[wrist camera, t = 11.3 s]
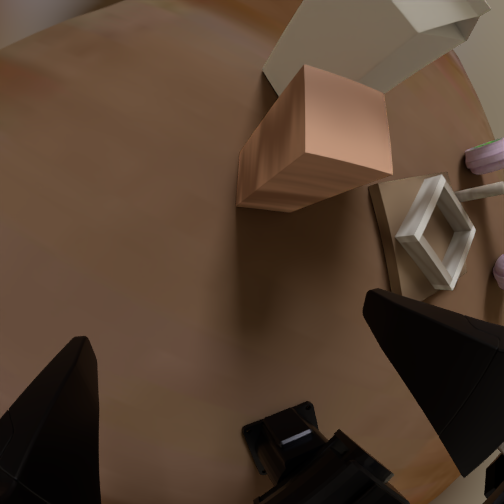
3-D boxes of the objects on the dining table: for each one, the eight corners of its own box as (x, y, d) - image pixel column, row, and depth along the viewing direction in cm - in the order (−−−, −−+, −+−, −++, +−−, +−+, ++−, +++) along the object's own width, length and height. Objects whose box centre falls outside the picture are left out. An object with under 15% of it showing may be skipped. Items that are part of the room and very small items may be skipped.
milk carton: (298, 133, 24) (470, -5, 5) (260, 70, 23) (370, -92, 5) (354, 115, 25) (505, 18, 7) (318, 59, 25) (435, -59, 6)
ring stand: (457, 272, 29) (521, 273, 20) (394, 308, 26) (471, 323, 17) (438, 174, 29) (501, 156, 19) (368, 186, 25) (445, 160, 16)
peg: (289, 212, 23) (392, 174, 12) (235, 206, 22) (305, 152, 10) (291, 160, 23) (383, 93, 12) (239, 152, 22) (304, 64, 11)
